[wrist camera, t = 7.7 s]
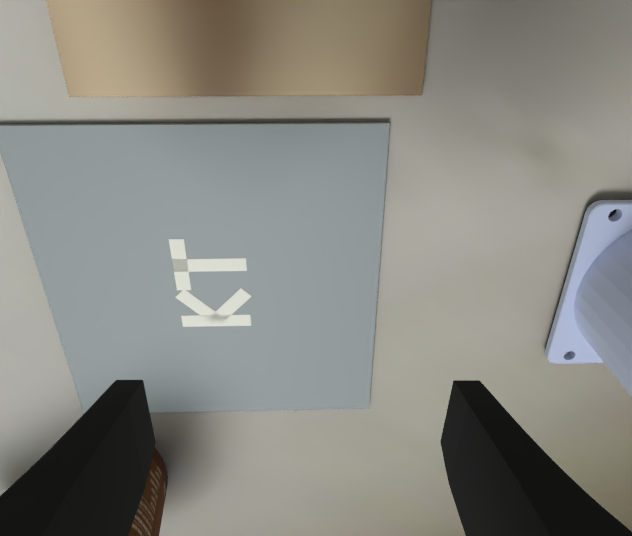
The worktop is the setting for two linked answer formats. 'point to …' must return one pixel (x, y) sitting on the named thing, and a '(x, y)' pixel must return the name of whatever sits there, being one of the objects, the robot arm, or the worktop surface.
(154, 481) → the food container
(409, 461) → the worktop surface
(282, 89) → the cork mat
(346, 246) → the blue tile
